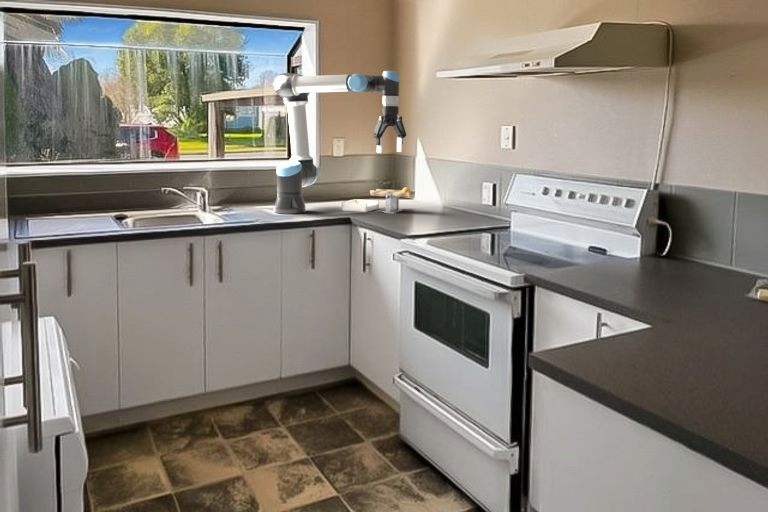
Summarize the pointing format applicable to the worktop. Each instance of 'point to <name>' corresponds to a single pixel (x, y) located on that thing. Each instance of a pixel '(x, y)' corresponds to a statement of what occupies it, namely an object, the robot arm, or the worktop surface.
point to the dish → (360, 205)
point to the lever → (392, 193)
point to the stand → (392, 204)
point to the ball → (406, 189)
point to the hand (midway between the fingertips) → (389, 152)
